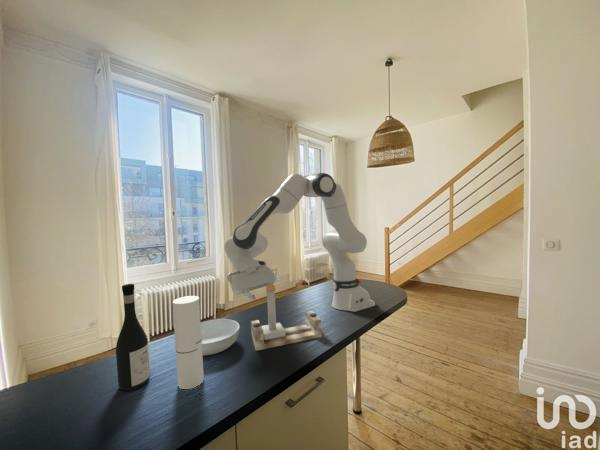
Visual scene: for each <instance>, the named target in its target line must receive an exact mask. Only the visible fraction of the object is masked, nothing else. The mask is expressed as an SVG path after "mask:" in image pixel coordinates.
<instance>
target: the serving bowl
mask: <svg viewBox="0 0 600 450" xmlns="http://www.w3.org/2000/svg"><path fill="white" fill-rule="evenodd" d="M239 334H240V324H239V322H238V321H236V320H233V319H230V318H229V319H227V318H215V319H211V320H209V319H208V320H205V321H201V338H202V355H203V356H210V355H215V354H218V353H221V352H223V351H225V350H227V349H228V348H230V347H231V346H232V345H233V344H234V343H235V342H236V341H237V339H238V337H239Z"/></svg>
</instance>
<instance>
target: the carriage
mask: <svg viewBox="0 0 600 450" xmlns="http://www.w3.org/2000/svg"><path fill="white" fill-rule="evenodd" d="M265 291H266V300H267V302H266V303H267V304H266V305H267V322H268V324H264V325H261V327H262V329H263V336H264V340H267V339H272V338H277V337H282V336H285V330H284V329H285V327H284V326H283V325H282V323H280V322H277V313H276V310H277V309H276V286H275V284H274V283H273V284H268V285H267V286H265Z"/></svg>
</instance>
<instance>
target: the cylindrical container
mask: <svg viewBox="0 0 600 450" xmlns="http://www.w3.org/2000/svg"><path fill="white" fill-rule="evenodd" d="M200 305H201V304H200V297H199V296H198V295H185V296H182V297H181V296H180V297H178V298H176V299H173V300H172V311H173V313H172V314H173V328H174V329H173V330H174V343H175V344H174V345H175V346H174V347H175V360H176V363H175V364H176V376H177V386H179V388H182V389H191V388H194V387H196V386H198V385H199V386H201V385H202V384H203V383H204V381H203V380H204V379H205V377H204V376H205V375H204V359H203V358H204V357H203V356H204V355H202V338H201V322H202V321H201V308H200ZM201 383H202V384H201ZM200 384H201V385H200ZM199 386H198V387H199ZM179 388H178V389H179ZM196 388H197V387H196ZM194 389H195V388H194ZM191 390H192V389H191Z"/></svg>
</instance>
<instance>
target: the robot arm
mask: <svg viewBox="0 0 600 450" xmlns="http://www.w3.org/2000/svg"><path fill="white" fill-rule="evenodd" d="M303 197H307V198H321V200H322V201H323V206H324V211H325V215H326V216H325V217H326V220H327V222H328V224H329V225H330V226H331V227H333V228H334V229H335V230H330V231H327V232H325V233H324V234H323V236H322V238H321V244H322V247H323V248H324V249H325V250H326V251H327V252H328V254H329V256H330V259H331V261H332V262H331V263H332V267H333V268H332V269H333V279H332V286H333V297H332V303H331V307H332V308H334V309H336V310H339V311H347V312H355V313H356V312H358V311H362V310H365V309H369V308H372V307H375V306H376V303H375V301H374V300H373V299H371V295H370V293H369V291H367V290H366V289H365V288H363V287H362V286H360V284H363V282H364V281H363V280H362V279H360V278H356V264H355V262H354V260H352V259H351V258H350V257H349V255H348V254H358V253H363V252H364V251H365V250H366V248H367V244H368V240H367V236H366V235H365V234H364V233H362V232H361V231H360V230H359V229H358V228H357V227H356V226H355V224H354V223H353V221H352V219H351V216H350V212H349V209H348V204H347V201H346V200H347V199H346V196H345V193H344V191H343V189H342V186H341V185H340V184H339V183H336V182H335V180H334V178H333V177H332V176H331V175H330V174H329V173H325V172H319V173H312V174H309V175H304V176H303V175H302V174H300V173H291V174H290V175H289V176H288V177H287V178H286V179H285V180H284V181H283V182H282V183H281V185H280V186H279V187H278V189H277V190H276V191H275V192H274V193H273V194H272V195H270V196H269V197H266V198H265V200H264V201H262V203H260V204H259V205H258V207H257V208H256V209H255V210H254V211H253V212H252V214H251V215H250V216H248V217H247V219H246V220H244V221H243V222H242V223H240V224H239V225H237V226H236V228H235V229H234V231H233V234H232V236H231V237H229V238H228V239H227V240H226V241H225V243H224V251H225V254H226V256H227V258H228V260H229V262H230V263H231V265H233V269H234V272H229V273H228V274H227V277H226V278H227V280H228V282H229V285H230V287H231V290H232V292H233V294H234V295H236V296H239V295H241V294H244V295H243V296H246V297H247V298H248V299H249V300H250V302H254V301H255V300H256V299H257V298H256V296H255V294H252V293H251V292H252V291H254V290H259V289H262V288H264V287H265V288H266V286H267V285H268V284H273V285H274V283H275V282H276V281H277V276H276V275H275V273H274V272H273V270H272V269H271V268H270V267H269V266H268V263H267V262H266V260H265V261H264V260H257V259H254V258H256V257H258V256H260V255H261V254H262V253H264V252H265V251H266V249H268V248H267V247H268V240H267V237H265V236H264V234H262V233H261V232H259V230H260V229H261V228H262V226H263V225H264V224H265V223H266V222H267V220H268V219H270V217H271V216H273V215H274V214H283V215H284V214H285V215H286V214H289V213H291V212H292V211H293V210H294V209H295V207H296V206H297V205H298V204H299V202H300V201H301V199H302V198H303Z"/></svg>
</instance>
